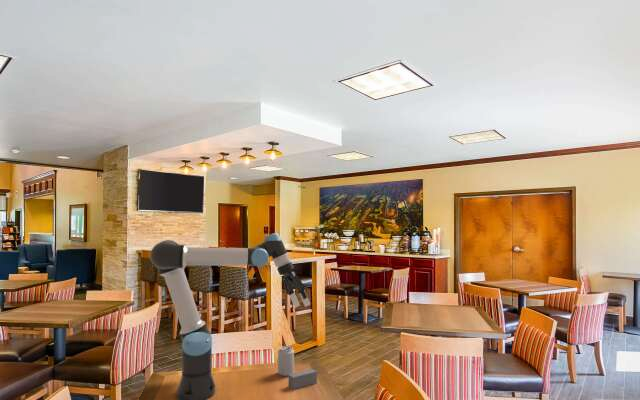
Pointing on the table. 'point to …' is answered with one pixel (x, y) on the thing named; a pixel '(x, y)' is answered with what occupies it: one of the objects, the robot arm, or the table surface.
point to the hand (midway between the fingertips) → (302, 306)
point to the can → (285, 360)
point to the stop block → (302, 379)
